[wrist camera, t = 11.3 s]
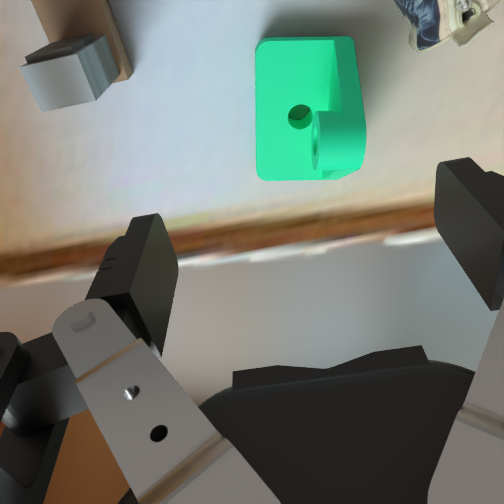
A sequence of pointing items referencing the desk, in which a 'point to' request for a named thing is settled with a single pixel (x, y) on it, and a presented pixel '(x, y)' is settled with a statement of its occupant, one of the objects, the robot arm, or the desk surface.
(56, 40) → the rail
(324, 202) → the desk surface
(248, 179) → the desk surface
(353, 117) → the camera mount
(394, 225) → the desk surface
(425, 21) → the pencil case
